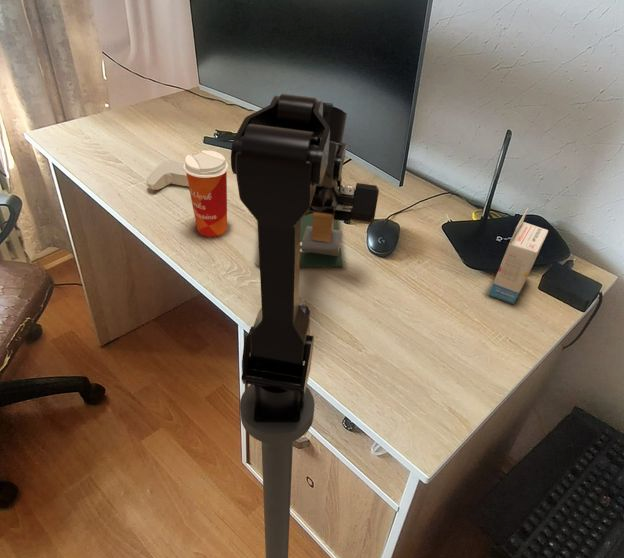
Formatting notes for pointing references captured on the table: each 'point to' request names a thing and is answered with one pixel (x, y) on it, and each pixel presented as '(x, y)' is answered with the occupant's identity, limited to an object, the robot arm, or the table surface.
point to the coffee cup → (208, 191)
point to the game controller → (167, 175)
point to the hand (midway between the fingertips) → (325, 210)
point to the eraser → (322, 236)
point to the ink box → (518, 260)
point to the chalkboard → (315, 258)
